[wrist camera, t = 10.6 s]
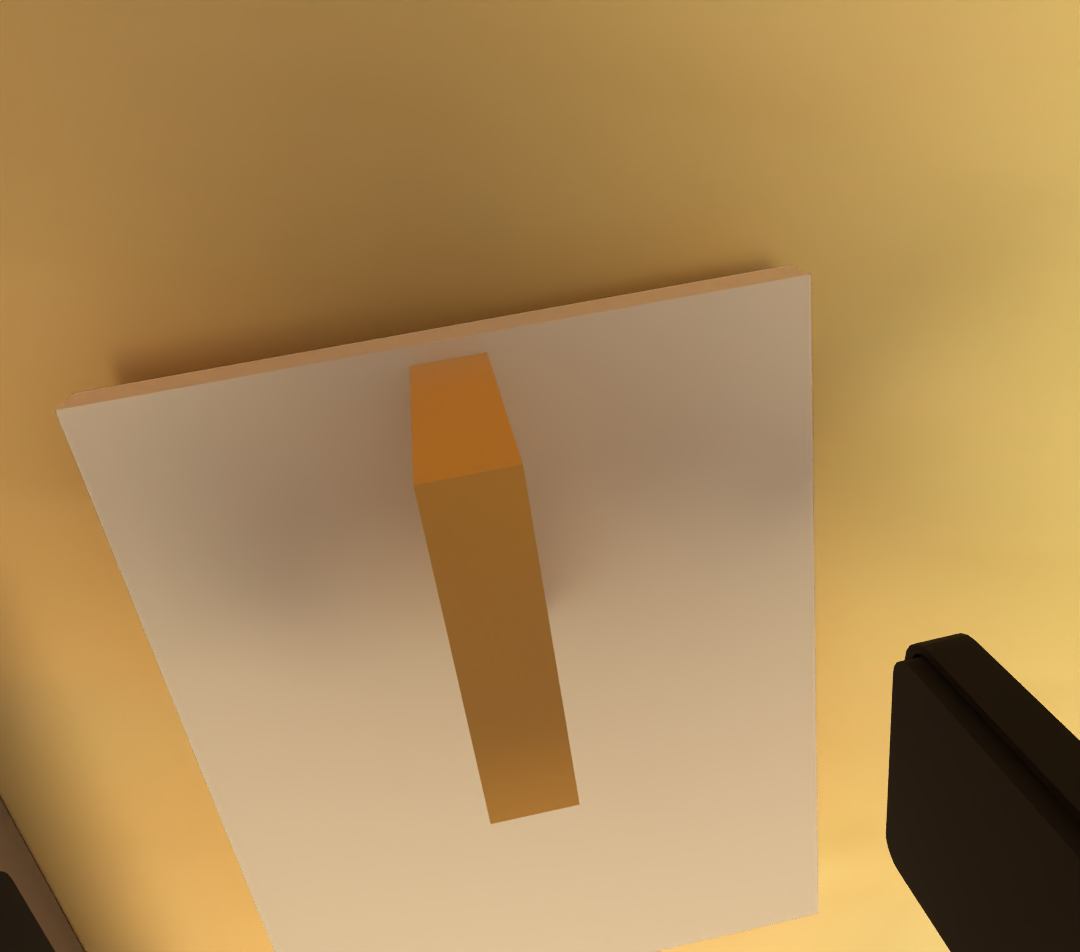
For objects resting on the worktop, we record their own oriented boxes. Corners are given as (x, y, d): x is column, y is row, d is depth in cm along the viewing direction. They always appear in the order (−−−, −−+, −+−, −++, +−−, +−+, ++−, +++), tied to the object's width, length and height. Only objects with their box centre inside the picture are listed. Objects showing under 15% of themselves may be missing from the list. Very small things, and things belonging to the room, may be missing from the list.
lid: (93, 373, 15) (-99, 555, 9) (767, 254, 15) (978, 352, 10) (314, 958, 21) (282, 1283, 15) (786, 850, 22) (922, 1120, 16)
